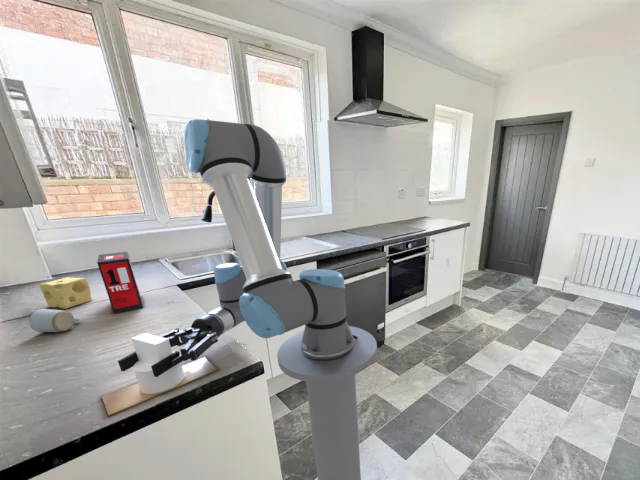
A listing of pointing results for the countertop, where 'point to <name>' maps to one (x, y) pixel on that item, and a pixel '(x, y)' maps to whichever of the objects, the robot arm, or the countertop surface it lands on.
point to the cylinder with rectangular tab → (149, 354)
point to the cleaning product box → (119, 281)
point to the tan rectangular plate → (135, 396)
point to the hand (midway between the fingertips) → (137, 368)
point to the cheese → (66, 292)
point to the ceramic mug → (51, 320)
